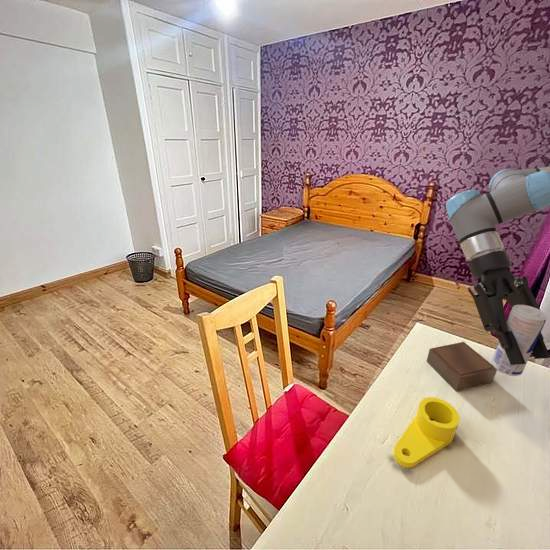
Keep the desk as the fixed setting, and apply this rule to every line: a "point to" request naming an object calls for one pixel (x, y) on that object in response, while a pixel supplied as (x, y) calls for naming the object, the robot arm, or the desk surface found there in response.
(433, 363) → the block
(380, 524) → the desk surface
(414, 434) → the crank
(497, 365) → the beverage can
